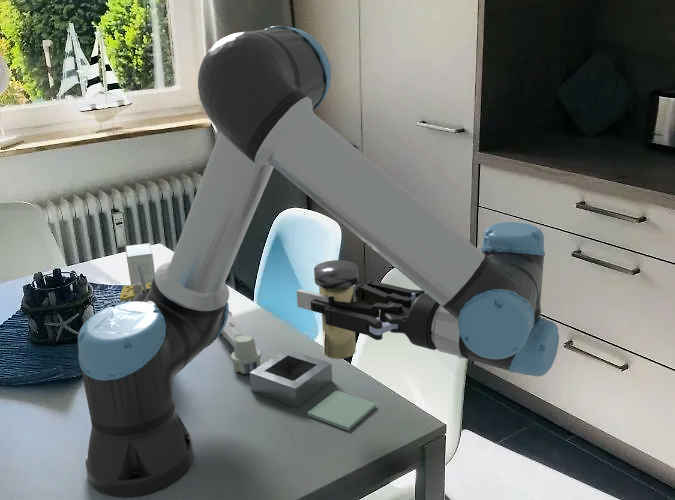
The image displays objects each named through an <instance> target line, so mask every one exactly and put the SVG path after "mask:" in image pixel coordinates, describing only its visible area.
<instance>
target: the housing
mask: <svg viewBox="0 0 675 500" xmlns="http://www.w3.org/2000/svg"><path fill="white" fill-rule="evenodd" d="M332 364H333V363H332V362H329V361H325V360H323V359H319V358H317V357H314V356H310V355H307V354H304V353H300V352H298V351H294V350H291V349H287V348H286V349H285V350H283V351H281V352H280V353H278V354H276V355H275V356H273V357H272V358H270V359H268V360H267V361H266V362H263V363H262V364H260V366H259V367H258V368H256V369H254V370H253V371H251V372H250V373H249V382H250V391H251V392H254V393H257V394H260V395H262V396H264V397H268V398H269V399H273V400H276V401H279V402H281V403H284V404H287V405H290V406H291V407H292V406H293V407H295V408H298V407H299V406H301V405H303V404H304V402H306V401H307V400H309V399H310V398H312V396H314V395H315V394H316V393H318V392H320V391H321V390H322V389H324V388H325V387H326V386H327V385H329V384H330V383H331V382H332V381H333V371H332V368H333V367H332ZM288 374H292V375H294V376H298V378H296V379H295V380H291V379H288V378H286V377H285V376H286V375H288Z"/></svg>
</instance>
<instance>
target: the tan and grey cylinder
mask: <svg viewBox="0 0 675 500" xmlns="http://www.w3.org/2000/svg"><path fill="white" fill-rule="evenodd" d="M313 275H314V277H313V278H314V284H315V285H316V286H318V287H319V286H320V290H321V294H322V295H325V296H330V297H331V296H334V301H339V302H347V303H355V302H354V292H353V285H356V284H357V283H358V282H359V266H358V265H357V264H356V263H355V262H353V261H349V260H340V259H339V260H337V259H336V260H326V261H323V262H321V263H318V264H316V265H314V268H313ZM321 320H322V321H321V323H322V340H323V341H322V342H323V343H322V344H323V345H322V346H323V354H324V355H325V356H326V357H328V358H331V359H334V360H337V359H338V360H342V359H348V358H349V357H352V356H354V355H355V353H356V351H357V350H356V346H357V345H356V332H353V331H350V330H346V329H342V328H338V327H335V326H331V325H327V324H326V320H325V314H322V313H321Z"/></svg>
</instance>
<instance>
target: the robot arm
mask: <svg viewBox="0 0 675 500" xmlns="http://www.w3.org/2000/svg"><path fill="white" fill-rule="evenodd" d="M197 75H198V76H197V90H198V94H199V100H200V102H201V105H202V107H203V110H204V112H205V114H206V116H207V117H208V118H209V120H210V121H211V123H212V124H213V126H215V128H216V129H217V130H218V131H219V133H218V134H217V137H216V140H215V143H214V146H213V147H212V151H211V154H210V156H209V159H208V161H207V164H206V167H205V169H204V172H203V175H202V178H201V180H200V183H199V185H198V188H197V191H196V193H195V196H194V198H193V201H192V204H191V207H190V209H189V213H188V214H187V217H186V220H185V223H184V224H183V228H182V231H181V234H180V235H179V236H180V237H179V239H178V241H177V245H176V246H175V249H174V252H173V255H172V257H171V259H170V261H167V262H165V263H163V264H161V265H160V266H159V267H158V268H157V269H156V271H155V275H154V278H153V281H152V283H151V286H150V289H149V292H148V294H147V296H146V298H145V299H144V301H143V302H139V301H133V302H131V301H123V302H121V303H117V304H115V306H111V307H112V308H111V307H110V306H108V307H105V308H103V309H101V310H99V311H98V312H96V313H94V314H93V315H92V316H90V317H89V318H88V319H87V320H86V321H85V322H84V323H83V324H82V326H81V327H80V329H79V331H78V335H77V345H78V346H77V349H78V357H77V358H78V363H79V364H78V365H79V367H80V370H81V374H82V376H81V377H82V381H83V386H84V391H85V397H86V402H87V407H88V412H89V417H90V421H91V422H90V423H91V431H90V437H89V441H88V443H89V444H88V451H87V452H86V457H85V468H86V469H85V470H86V475H87V479H88V482H89V484H90V485H91V487H92V488H94V489H95V490H97V491H98V492H100V493H102V494H105V495H108V496H114V497H121V498H122V497H123V498H124V497H136V496H143V495H148V494H151V493H154V492H157V491H160V490H162V489H165V488H167V487H168V486H170V485H172V484H173V483H175V482H176V481H178V480H179V479H181V478H182V477H183V476H184V475H185V474H186V473H187V472H188V470H189V469H190V467H191V466H192V464H193V462H194V456H195V454H194V453H195V452H194V445H193V440H192V437H191V434H190V433H189V431H188V429H187V427H186V425H185V423H184V421H183V420H182V418H181V416H180V415H179V413H178V411H177V408H176V401H175V396H174V389H173V388H174V386H173V379H174V378H175V377H176V376H177V374H178V375H179V373H180V372H182V370H184V369H185V367H186V366H187V365H189V364H190V363H191V362H192V361H193V360H194V359H195V358H196V357H197V356H199V354H200V353H201V352H202V351H204V350H205V349H206V348H207V347H209V346H210V345H212V344H213V343H214V342H215V341H216V340H217V339H218V337H219V336H220V335H221V334H222V333H221V332H222V330H223V328H224V327H225V325H226V322H227V319H228V313H229V311H230V309H229V307H230V306H229V302H228V301H229V299H230V289H229V287H228V285H227V284H226V280H227V279H228V277H229V274H230V271H231V268H232V267H233V265H234V262H235V259H236V257H237V255H238V253H239V250H240V248H241V245H242V243H243V241H244V238H245V236H246V234H247V232H248V229H249V227H250V224H251V222H252V219H253V218H254V215H255V212H256V210H257V208H258V206H259V203H260V201H261V198H262V196H263V195H264V194H263V193H264V191H265V189H266V187H267V184H268V182H269V179H270V178H271V175H272V172H273V170H274V169H275V170H277V171H278V172H279V173H280V174H282V175H283V176H284V177H285V178H286V179H287V180H289V181H290V182H292V184H294V186H296V187H298V188H299V190H301V191H302V192H303V193H304V194H306V195H307V196H308V197H309V198H311V199H312V200H313V201H314V202H315V203H317V205H319V206H320V207H321V208H323V209H324V210H325V211H326V212H327V213H329V214H330V215H331V216H333V218H335V219H336V220H337V221H338V222H339V223H341V224H342V225H343V226H345V227H346V228H347V229H348V230H349V231H350V232H351V233H353V234H354V235H355V236H356V237H358V239H360V240H362V242H364V243H365V244H366V245H367V246H368V247H369V248H371V249H372V250H373V251H374V252H376V253H377V254H378V255H380V257H382V258H383V259H384V260H386V261H387V262H388V263H389V264H390V265H392V267H394V268H395V269H397V270H398V271H399V272H400V273H401V274H402V275H403V276H404V277H406V278H407V279H408V280H409V281H410V282H412V283H413V284H414V285H416V286H417V287H418V288H419V289H420V290H419V289H411V288H410V289H409V288H406V287H403V286H402V287H401V286H396V285H392V284H389V283H383V282H380V281H375V280H367V281H366V284H364V283H358V284H357V285H356V284H355V285H353V292H354V303H347V302H339V301H334V296H331V297H330V296H325V295H322V294H321V290H320V286H318V289H319V290H318V291H319V293H317V292H313V291H309V290H305V289H300V288H299V289H297V290H296V302H297V303H296V304H297V305H296V306H297V308H300V309H304V310H307V311H312V312H314V313H318V314H321V315H322V314H325V320H326V324H327V325H331V326H335V327H338V328H342V329H346V330H350V331H353V332H355V333H359V334H362V335H365V336H368V337H369V338H371V339H373V340H375V341H381V340H383V334H385V333H388V332H390V333H394V334H404V335H405V336H406V337H407V338H408V340H409V342H410V343H411V344H412V345H414V346H417V347H421V348H424V349H425V348H426V349H429V350H433V351H436V350H437V351H438V352H440V353H445V354H448V355H452V356H456V357H458V358H460V359H465V360H469V361H473V362H477V363H480V364H484V365H488V366H492V367H494V368H497V369H502V370H505V371H508V372H509V373H515V374H519V375H520V374H521V375H525V376H532V377H543V376H544V375H546V374H547V373H548V372H549V371H550V370H551V368H552V366H553V364H554V362H555V360H556V356H557V354H558V350H559V343H560V334H559V327H558V325H557V324H556V322H554V321H553V320H550V319H547V318H545V317H542V309H541V307H542V306H541V298H542V289H543V288H542V287H543V276H544V275H543V274H544V273H543V272H544V263H545V262H544V261H545V260H544V259H545V255H546V252H545V235H544V232H543V231H542V230H541V229H540V228H539V227H537V226H536V225H533V224H529V223H523V222H517V221H516V222H515V221H508V222H507V221H506V222H499V223H494V224H492V225H490V226H488V227H487V228H485V229H484V232H483V235H482V236H483V237H482V246H481V248H480V249H478V248H477V247H476V246H475V245H473V244H472V243H471V242H470V241H469V240H468V239H466V237H464V236H463V235H461V234H460V233H459V232H458V231H457V230H455V229H454V228H453V227H452V226H450V224H449V223H447V222H446V221H444V220H443V219H442V218H441V217H440V216H439V215H437V214H436V213H435V212H433V210H432V209H430V208H429V207H427V206H426V204H424V203H423V202H421V201H420V199H418V198H417V197H416V196H414V194H412V193H411V192H409V190H407V189H406V188H405V187H403V186H402V185H401V183H399V182H397V181H396V180H395V179H394V178H392V177H391V176H390V175H389V174H388V173H386V172H385V170H384V169H382V168H381V167H380V166H378V165H377V164H376V163H375V162H373V160H371V159H370V158H368V157H367V156H366V155H365V154H363V153H362V152H361V151H360V150H359V149H357V148H356V147H355V146H354V145H353V144H351V143H350V142H349V141H348V140H346V138H344V136H342V135H341V134H339V133H338V132H337V131H336V130H335V129H333V128H332V127H331V126H330V125H329V124H327V123H326V122H325V121H323V120H322V119H321V118H320V117H319V116H318V115H317V114H315V113H314V111H315V110H316V109H317V108H318V107H319V106H320V105H321V104H322V102H323V101H324V100H325V98H326V97H327V95H328V93H329V90H330V88H331V83H332V67H331V64H330V61H329V58H328V55H327V53H326V51H325V49H324V47H323V46H322V44H321V43H320V42H319V41H318V40H317V39H316V37H314V36H312V35H311V34H310V33H308V32H307V31H305V30H302V29H299V28H296V27H289V26H283V25H275V26H270V27H269V26H268V27H267V28H265V29H259V30H253V31H252V30H251V31H241V32H235V33H232V34H229V35H227V36H224V37H223V38H221V39H220V40H218V41H216V42H215V43H214V44H213V45H212V46H211V47H210V48H209V49H208V50H207V52H206V54H205V55H204V57H203V59H202V62H201V64H200V67H199V71H198V74H197ZM356 298H357V299H356ZM356 301H357V303H355V302H356ZM363 303H364V304H363Z"/></svg>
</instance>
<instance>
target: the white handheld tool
mask: <svg viewBox="0 0 675 500" xmlns="http://www.w3.org/2000/svg"><path fill="white" fill-rule="evenodd" d="M220 334H221V335H222V336H223V338H225V339H226V341H228V342H229V344H231V346H232V347H233V352H232V353H231V354H230V360H231V361H232V363H233V368H234V369H233V371H235V372H236V373H239V372H240V373H241V374H245V375H246V374H247V375H248V374H249V375H250V372H251V371H253V370H254V369H256V368H258V367H259V366H261V357H262V352H261V351H260V350H259V349H257V346H256V342H255V340H254V337H252V336H251V335H246V333H245V332H244V331H243V330H242V328H241V326H240V325H239V324H238V322H237V321H236V320H235V318H234V317H233V314H232V311H230V310H229V313H228V319H227V322H226V325H225V327H224V328H223V330H222V332H221V333H220Z"/></svg>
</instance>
